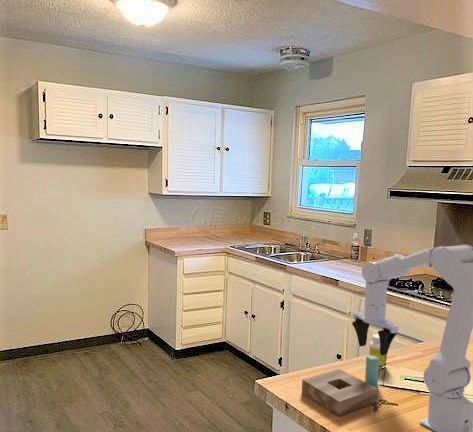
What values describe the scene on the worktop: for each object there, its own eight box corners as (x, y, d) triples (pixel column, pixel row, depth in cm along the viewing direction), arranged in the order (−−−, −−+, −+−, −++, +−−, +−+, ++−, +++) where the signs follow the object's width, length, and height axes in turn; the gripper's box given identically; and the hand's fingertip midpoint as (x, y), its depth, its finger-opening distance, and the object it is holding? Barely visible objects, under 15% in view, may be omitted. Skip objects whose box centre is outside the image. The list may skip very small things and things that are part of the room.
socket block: (376, 402, 121) (377, 388, 121) (338, 417, 113) (339, 401, 113) (338, 382, 133) (339, 368, 132) (301, 393, 125) (302, 379, 125)
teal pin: (380, 385, 131) (381, 359, 130) (371, 388, 129) (373, 361, 128) (370, 381, 134) (372, 354, 133) (362, 383, 132) (363, 357, 131)
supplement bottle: (387, 370, 141) (388, 339, 141) (369, 368, 143) (370, 338, 142) (385, 363, 147) (386, 334, 146) (367, 361, 148) (369, 332, 147)
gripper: (406, 308, 125) (403, 355, 127) (365, 295, 138) (362, 339, 139) (389, 311, 122) (386, 361, 123) (348, 298, 134) (346, 343, 135)
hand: (372, 350), depth 131 cm, fingers open, 7 cm apart
